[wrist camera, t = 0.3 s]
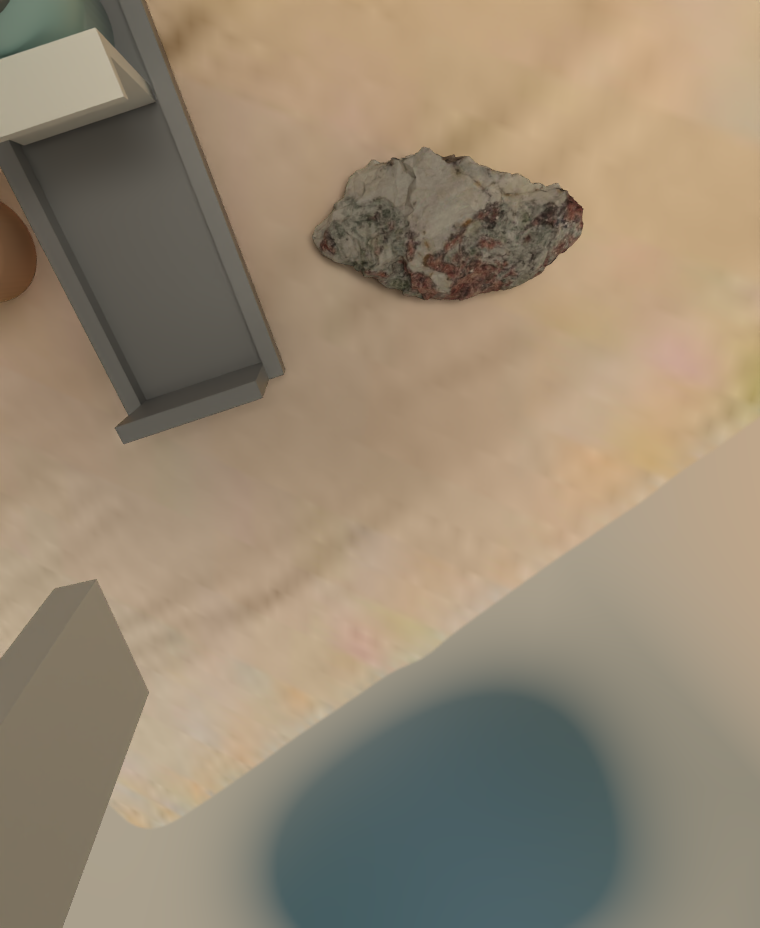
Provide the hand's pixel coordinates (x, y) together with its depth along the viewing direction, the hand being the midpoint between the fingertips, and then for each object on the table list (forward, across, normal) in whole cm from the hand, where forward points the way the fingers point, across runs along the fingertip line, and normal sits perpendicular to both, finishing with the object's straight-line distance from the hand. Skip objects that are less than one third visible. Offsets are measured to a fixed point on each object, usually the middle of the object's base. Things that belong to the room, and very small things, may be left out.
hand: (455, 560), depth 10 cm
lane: (+27, -11, +11) cm, 31 cm away
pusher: (+26, -11, +14) cm, 32 cm away
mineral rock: (+27, +7, +6) cm, 29 cm away
